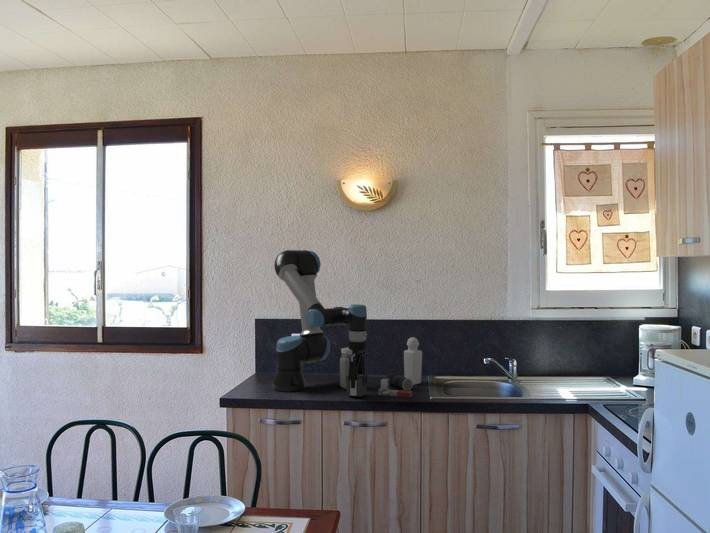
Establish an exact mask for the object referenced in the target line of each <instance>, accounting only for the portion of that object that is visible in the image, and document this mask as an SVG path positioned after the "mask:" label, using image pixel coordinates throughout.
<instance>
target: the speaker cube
mask: <svg viewBox="0 0 710 533" xmlns="http://www.w3.org/2000/svg"><path fill="white" fill-rule="evenodd" d="M348 378H349V375H348V376H346V389H345V391H346V392H345V395H346V396H352V397H354V396H353V395H350V381H351V380H348ZM356 380H357V396H356V397H360V398H361V397H363V396H364V395H366V394H367V393H368V374H366V373H365V374H360V373H357V377H356Z"/></svg>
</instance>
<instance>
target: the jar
mask: <svg viewBox="0 0 710 533" xmlns="http://www.w3.org/2000/svg"><path fill="white" fill-rule="evenodd" d="M340 351H341V357H340V358H339V386H340V387H341V388H342V389H345V390H346V376H348V375H349V357H350V356H352V352H353V351H352V350H350V349H349V346H348V347H343V348H340Z"/></svg>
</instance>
